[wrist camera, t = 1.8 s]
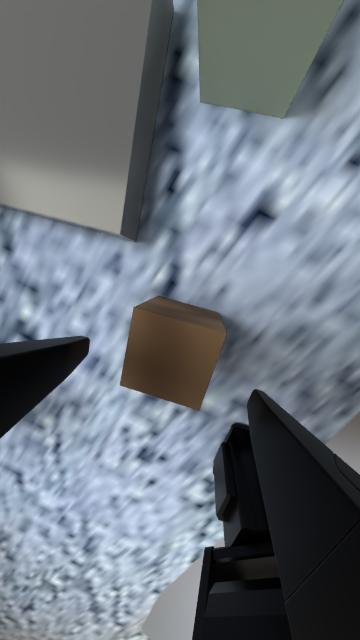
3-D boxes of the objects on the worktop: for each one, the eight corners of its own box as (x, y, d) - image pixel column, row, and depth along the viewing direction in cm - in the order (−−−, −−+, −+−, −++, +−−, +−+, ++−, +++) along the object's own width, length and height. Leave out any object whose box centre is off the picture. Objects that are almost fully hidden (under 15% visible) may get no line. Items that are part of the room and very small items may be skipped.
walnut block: (218, 312, 13) (226, 334, 9) (201, 366, 15) (199, 410, 10) (158, 295, 14) (133, 307, 9) (146, 350, 15) (119, 385, 10)
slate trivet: (173, 9, 9) (163, -82, 7) (135, 241, 13) (120, 234, 10) (-21, -23, 10) (-91, -115, 8) (-7, 204, 14) (-53, 189, 11)
